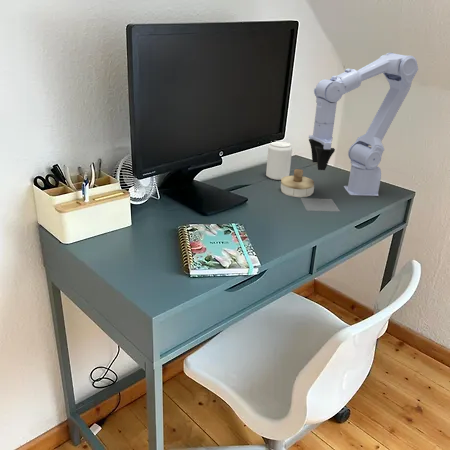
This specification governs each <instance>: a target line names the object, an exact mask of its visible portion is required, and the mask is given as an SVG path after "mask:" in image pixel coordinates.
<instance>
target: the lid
mask: <svg viewBox="0 0 450 450" xmlns="http://www.w3.org/2000/svg"><path fill="white" fill-rule="evenodd" d="M303 175H304V170H303V169H301V168H296V169H294V171H293V175H289V176H285V177H283V178H282V179H281V180H280V185H281V184H282V185H284V186H285V187H288V188H292V189H310V188H312V187H313V186H314V187H315V181H314V180H313V179H312V178H310V177H308V176H307V177H306V176H303Z"/></svg>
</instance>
